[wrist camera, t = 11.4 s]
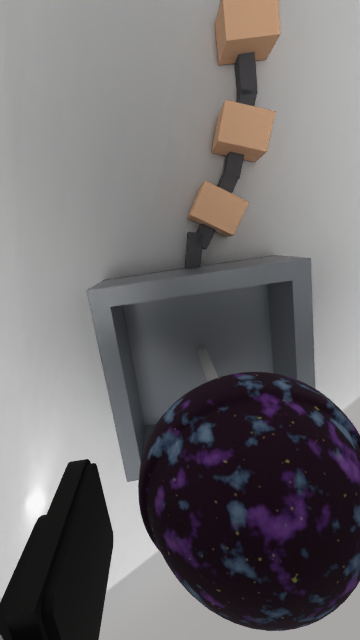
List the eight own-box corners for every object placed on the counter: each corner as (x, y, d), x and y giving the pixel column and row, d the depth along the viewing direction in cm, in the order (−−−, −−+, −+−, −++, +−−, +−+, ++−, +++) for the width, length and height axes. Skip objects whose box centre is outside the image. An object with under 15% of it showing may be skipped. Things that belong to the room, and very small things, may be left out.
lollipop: (255, 300, 20) (497, 448, 6) (248, 395, 22) (423, 699, 7) (150, 301, 20) (120, 461, 5) (151, 398, 21) (132, 724, 7)
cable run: (222, -29, 17) (230, -69, 15) (288, -13, 17) (306, -50, 15) (180, 266, 20) (182, 269, 18) (235, 274, 21) (244, 277, 19)
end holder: (104, 279, 20) (86, 290, 15) (275, 255, 21) (310, 258, 16) (134, 432, 23) (127, 481, 18) (284, 408, 23) (317, 451, 18)
